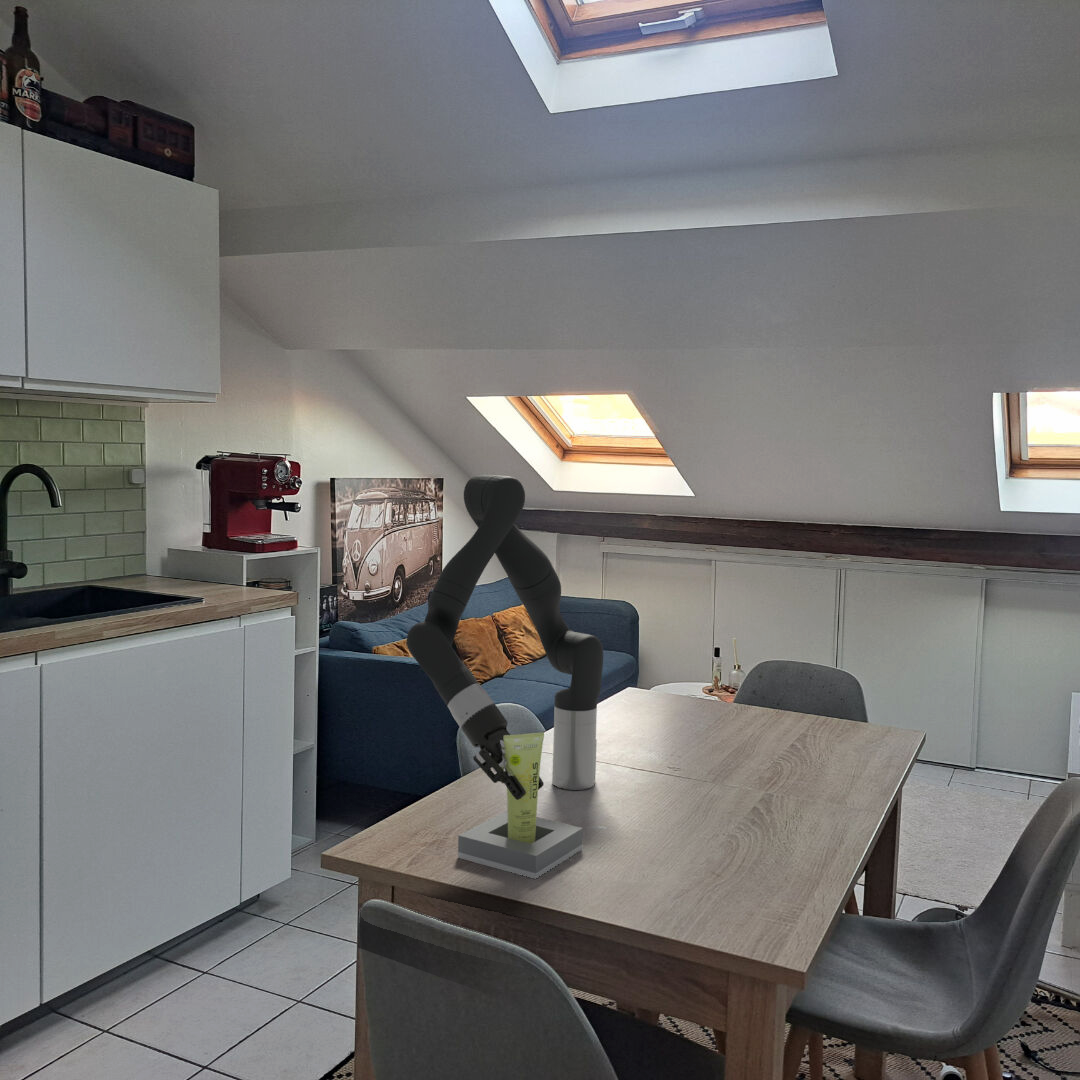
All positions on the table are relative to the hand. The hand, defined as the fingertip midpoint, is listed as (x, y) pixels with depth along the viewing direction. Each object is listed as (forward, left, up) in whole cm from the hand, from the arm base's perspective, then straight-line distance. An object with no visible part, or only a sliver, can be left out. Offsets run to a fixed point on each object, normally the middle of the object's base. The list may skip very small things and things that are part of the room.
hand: (530, 792), depth 176 cm
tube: (0, -2, -9) cm, 10 cm away
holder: (0, -2, -11) cm, 12 cm away
